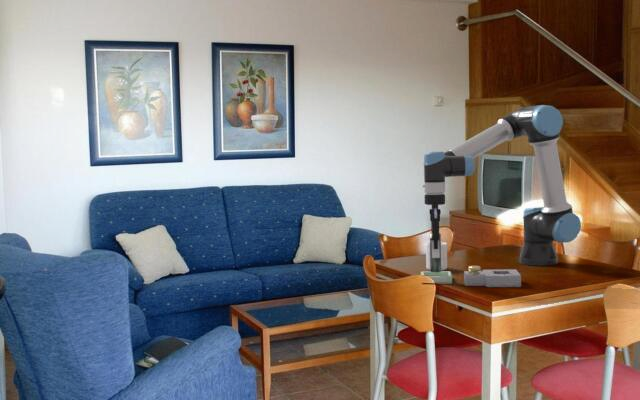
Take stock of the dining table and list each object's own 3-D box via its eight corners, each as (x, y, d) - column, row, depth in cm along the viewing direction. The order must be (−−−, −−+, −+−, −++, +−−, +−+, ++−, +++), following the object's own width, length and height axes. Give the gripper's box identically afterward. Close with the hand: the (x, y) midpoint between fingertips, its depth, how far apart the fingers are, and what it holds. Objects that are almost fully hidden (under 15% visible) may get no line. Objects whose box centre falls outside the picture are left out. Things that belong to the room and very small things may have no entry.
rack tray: (450, 277, 288) (450, 271, 288) (452, 283, 277) (452, 276, 277) (421, 278, 289) (420, 271, 289) (421, 283, 278) (421, 277, 278)
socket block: (516, 280, 280) (516, 269, 279) (521, 286, 268) (520, 275, 268) (463, 280, 282) (463, 269, 282) (466, 287, 270) (465, 276, 270)
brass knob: (480, 279, 277) (480, 265, 277) (481, 282, 273) (481, 267, 273) (467, 279, 278) (467, 265, 278) (468, 282, 274) (468, 267, 273)
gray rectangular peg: (440, 270, 284) (440, 233, 283) (441, 272, 281) (440, 234, 279) (430, 270, 285) (429, 233, 284) (430, 272, 281) (429, 234, 280)
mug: (446, 272, 299) (445, 246, 298) (425, 272, 301) (424, 246, 300) (447, 267, 311) (447, 242, 310) (427, 266, 312) (426, 241, 312)
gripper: (423, 192, 289) (424, 253, 291) (425, 195, 272) (425, 260, 274) (443, 191, 288) (444, 253, 290) (446, 195, 271) (447, 260, 273)
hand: (435, 256), depth 282 cm, fingers closed on gray rectangular peg, 4 cm apart
